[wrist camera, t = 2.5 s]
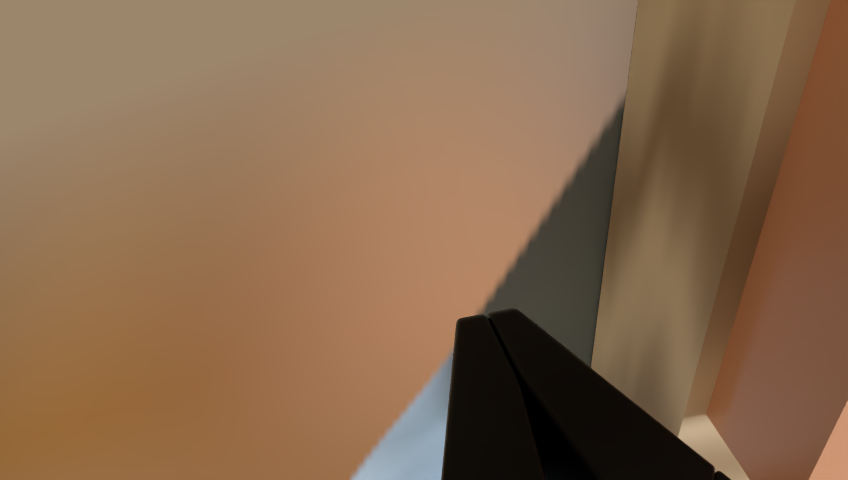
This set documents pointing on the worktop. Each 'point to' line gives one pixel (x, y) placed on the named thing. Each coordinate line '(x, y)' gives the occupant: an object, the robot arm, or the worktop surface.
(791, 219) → the tile
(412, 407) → the worktop surface
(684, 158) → the board
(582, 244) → the worktop surface
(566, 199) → the worktop surface
